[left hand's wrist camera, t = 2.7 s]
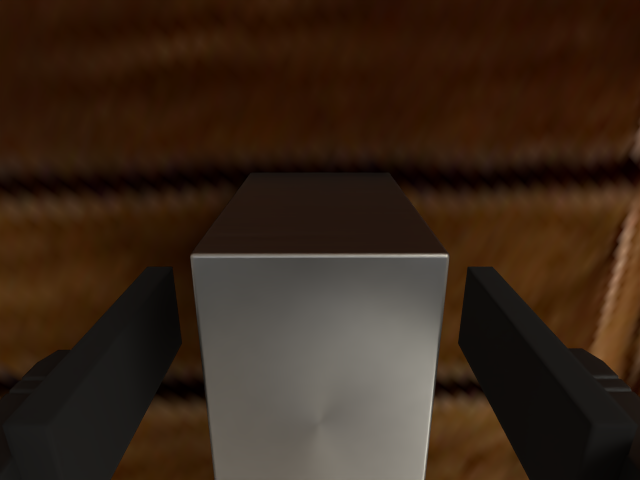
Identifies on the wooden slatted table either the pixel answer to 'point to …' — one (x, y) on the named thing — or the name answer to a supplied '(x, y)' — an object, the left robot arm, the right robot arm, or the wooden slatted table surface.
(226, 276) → the brick
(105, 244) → the wooden slatted table surface
